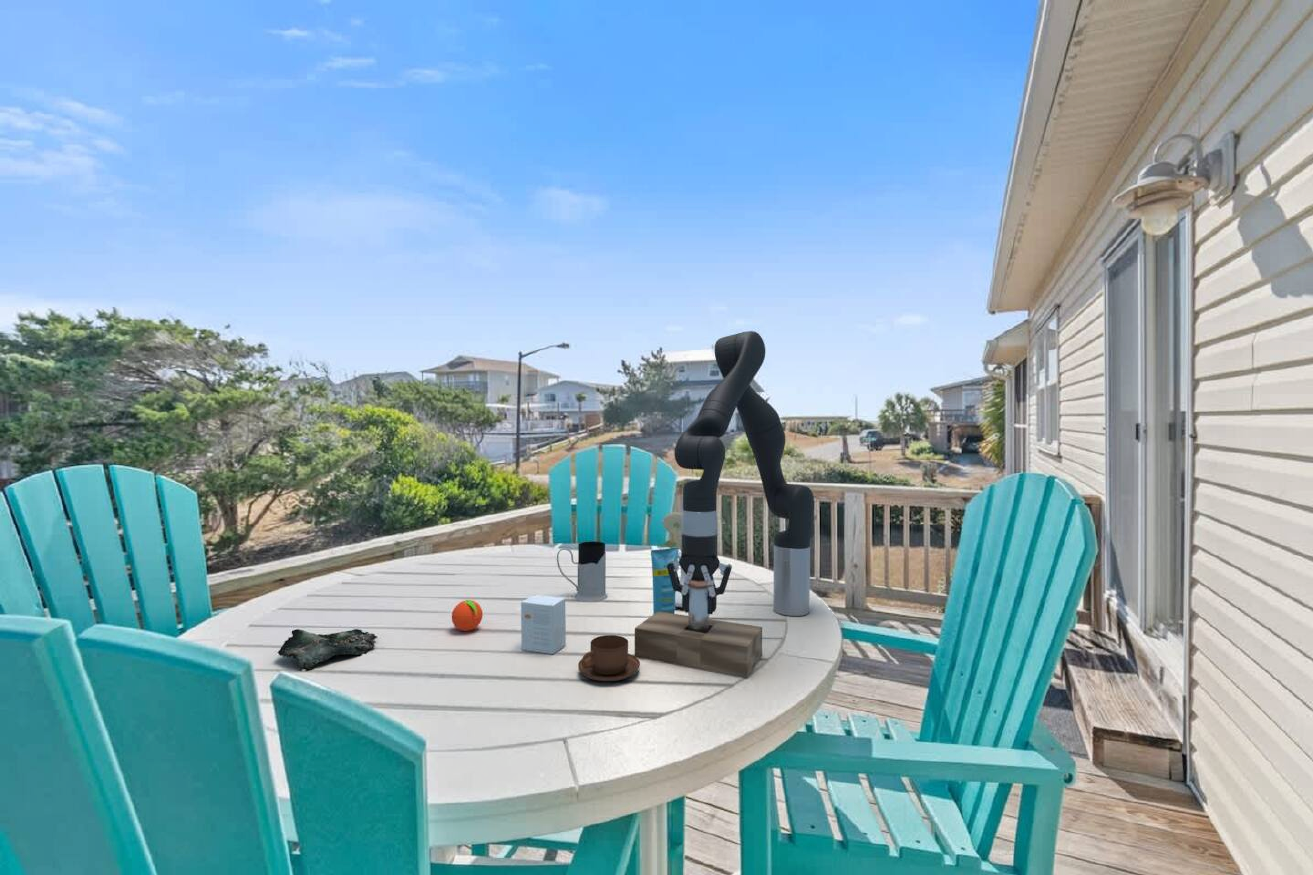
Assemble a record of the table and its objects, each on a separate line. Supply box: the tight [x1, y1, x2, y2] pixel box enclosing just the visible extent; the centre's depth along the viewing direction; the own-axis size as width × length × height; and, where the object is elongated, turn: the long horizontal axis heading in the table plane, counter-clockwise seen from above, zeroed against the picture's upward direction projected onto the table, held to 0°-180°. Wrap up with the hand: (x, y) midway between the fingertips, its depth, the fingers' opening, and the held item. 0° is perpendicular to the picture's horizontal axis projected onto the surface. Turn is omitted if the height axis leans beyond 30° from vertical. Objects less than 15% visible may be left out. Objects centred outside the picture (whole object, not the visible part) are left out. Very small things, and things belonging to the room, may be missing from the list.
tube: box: [650, 546, 680, 615], centre depth 134 cm, size 7×5×19 cm, turn 123°
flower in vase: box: [661, 511, 686, 609], centre depth 153 cm, size 13×11×25 cm
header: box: [634, 611, 763, 679], centre depth 118 cm, size 12×24×6 cm, turn 66°
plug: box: [687, 579, 710, 633], centre depth 118 cm, size 5×5×14 cm
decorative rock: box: [276, 628, 378, 672], centre depth 120 cm, size 19×6×15 cm
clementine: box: [451, 599, 484, 632], centre depth 132 cm, size 8×7×7 cm
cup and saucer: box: [577, 634, 641, 682], centre depth 110 cm, size 12×12×6 cm
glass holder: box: [556, 541, 608, 603], centre depth 159 cm, size 9×14×15 cm, turn 89°
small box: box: [520, 594, 567, 655], centre depth 122 cm, size 8×6×10 cm
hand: (699, 611), depth 118 cm, fingers closed on plug, 4 cm apart
